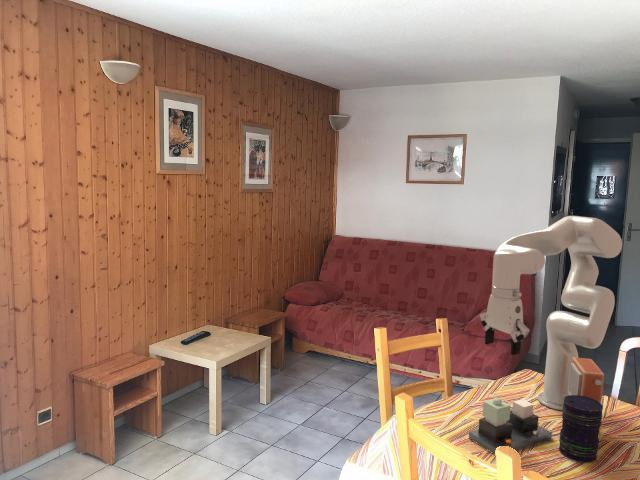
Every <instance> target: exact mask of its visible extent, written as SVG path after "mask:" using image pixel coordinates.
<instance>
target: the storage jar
mask: <svg viewBox="0 0 640 480" xmlns="http://www.w3.org/2000/svg"><path fill="white" fill-rule="evenodd" d="M603 407H604V405H603V404H602V402H601V403H600V402H598V401H596V400H594V399H592V398H589V397H585V396H579V395H569V396H566V397H565V398H564V404H563V409H562V410H561V411H562V414H561V419H562V424H561V429H560V432H559V439H558V440H559V444H558V445H559V446H558V451H559V453H560V454H561V455H562V456H564V457H565V458H567V459H569V460H571V461H574V462H578V463H583V464H585V463H586V464H591V463H594V462H596V461H597V459H598V453H599V452H598V451H599V449H600V438H599V434H600V428H601V427H602V420H603V410H604V409H603Z"/></svg>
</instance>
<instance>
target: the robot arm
mask: <svg viewBox="0 0 640 480" xmlns="http://www.w3.org/2000/svg"><path fill="white" fill-rule="evenodd" d="M622 248H623V240H622V238H621V235H620V234H619V233H618V232H617V231H616V230H615V229H614V228H613V227H612V226H610V225H609V224H607V222H605V221H603V220H602V219H599V218H597V217H588V216H580V215H579V216H578V215H567V216H565V217H562V218H561V219H559V220H557V221H556V222H554V223H552V224H551V225H549V226H548V227H546V228H544V229H542V230H537V231H533V232H528V233H523V234H519V235H516V236H513V237H511V238H510V239H508V240H506V241H505V242H503V243H501V244H500V245H499V246H498V248H496V250H495V252H494V254H493V261H492V262H493V263H492V283H491V284H492V285H491V294H490V295H489V299H488V301H487V302H488V304H487V308H486V309H487V310H486V311H485V312H483V313H482V312H481V313H479V318H480V320H481V324H482V326H483V330H484V331H485V333H484V334H485V336H484V344H485V345H490V344H493V343H495V330H498V331H501V332H503V333H506V334H509V335H510V337H511V339H512V341H511V344H510V355H512V356H516V355H518V354H520V353H521V346H522V345H521V344H522V341H524V339H526V338H527V336H528V334H529V333H530V332H531V331H530V328H529V327H528V326H526V324H525V323H524V309H523V303H522V302H523V301H522V299H521V297H522V295H523V294H522V292H520V285H521V283H520V282H521V275H534V274H538V273H539V272H540V271H542V270H543V268H544V266H545V264H546V259H545V257H547V256H556V255H558V254H560V253H561V252H564V251H565V250H566V249H567V250H568V253H569V256H570V257H569V258H570V262H571V264H570V270H569V273H568V276H567V278H566V281H565V284H564V288H563V290H562V294H561V296H560V297H561V298H560V301H561V305H563V306H564V307H566V308H567V309H570V310H573V311H577V312H581V313H585V314H589V317H588V316H585V315H581V314H577V313H574V312H570V311H566V310H565V311H564V310H555V311H552V312H551V313H550V314H549V315H548V317H547V319H546V327H545V328H546V335H547V346H546V347H547V348H546V349H547V350H546V359H545V369H544V380H543V381H544V382H543V390H542V392H540V393H538V395H537V400H538V402H539V403H540V404H542V405H543V406H545V407H547V408H551V409H552V410H553V409H554V410H558V411H562V409H563V404H564V398H565V397H566V396H569V393H568V385H569V376H570V366H571V365H570V364H571V363H572V361H573V357H575V358H579V353H578V350H577V346H580V347H583V348H587V349H596V348H598V347H600V346H601V344H602V342H603V340H604V338H605V335H606V332H607V329H608V327H609V323H610V322H611V317H612V315H613V312H614V308H615V304H616V303H615V300H616V299H615V295H614V292H613V291H612V290H611V289H609V288H607V287H604V286H601V285H596V283H597V279H598V276H599V274H600V273H599V272H600V271H599V266H598V265H597V262H596V260H595V258H594V257H599V258H605V259H612V258H616V257H618V256H619V254H620V253H621V251H622ZM593 256H594V257H593ZM494 329H495V330H494Z"/></svg>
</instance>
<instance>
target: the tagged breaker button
mask: <svg viewBox="0 0 640 480" xmlns="http://www.w3.org/2000/svg"><path fill="white" fill-rule="evenodd" d="M485 421H487V422H489V423H490V424H492V425H494V426H496V427H497V426H501V425H504V424H506V421H504V422H501V423H497V424H496V423H494V422H492V421H491V420H489V419H487V418H486V419H485Z"/></svg>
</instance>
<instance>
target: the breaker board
mask: <svg viewBox="0 0 640 480" xmlns="http://www.w3.org/2000/svg"><path fill="white" fill-rule="evenodd" d="M539 417H540V416H538V415H537V414H534V413H533V415H532V416H531V417H528V418H525V419H522V418H521V417H519V416H517V415H515V414H513V413H512V409H510V419H509V420H508V421H506V424H504V425H501V426H497V427H496V426H494V425H492V424H490V423H489V422H487V421H485V419H486V418H485V417H481V418H479V419H478V428H477V429H473V430H470V431H468V439H469V438H470V439H469V440H471V439H472V440H474V441H475V442H474V441H473V442H474V443H476V442H477V443H478V444H477V443H476V444H477V445H479V444H480V445H482V446H483V447H484V448H483V447H482V446H481V447H482V448H483V449H485V448H486V449H485V450H487V449H488V450H490V451H491V452H493V453H494V454H495V450H496V448H497V447H499V446H509V447H511V448H513V449H515V450H516V451H519V450H523V449H525V448H529V447H531V446H534V445H537V444H540V443H543V442H547V441H549V440H552V436H553V432H552V431H550V430H549V429H546V428H545V427H542V426H540V425H539ZM472 440H471V441H472ZM480 445H479V446H480ZM488 450H487V451H488ZM490 451H489V452H490ZM516 451H515V452H516ZM491 452H490V453H491ZM493 453H492V454H493ZM494 454H493V455H494Z"/></svg>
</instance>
